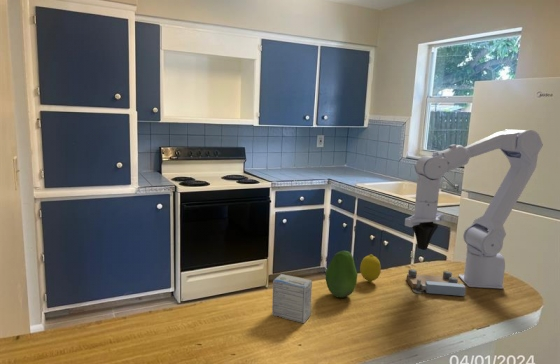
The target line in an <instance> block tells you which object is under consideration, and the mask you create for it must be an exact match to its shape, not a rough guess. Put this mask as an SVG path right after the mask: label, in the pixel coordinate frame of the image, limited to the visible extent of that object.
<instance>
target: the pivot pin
mask: <svg viewBox="0 0 560 364" xmlns="http://www.w3.org/2000/svg"><path fill="white" fill-rule="evenodd" d="M420 286H421V280H419V279H418V280H417V285H416V288H414V289H412V293H414V294H418V295H422V294H424V290H421V289H420Z"/></svg>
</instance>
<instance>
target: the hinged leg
mask: <svg viewBox="0 0 560 364" xmlns="http://www.w3.org/2000/svg"><path fill="white" fill-rule="evenodd" d="M421 288H422V290H423V291H424V290H425V292H426V294H433V295H446V296H447V295H448V296H460V297H466V285H464V284H463V283H458V282H457V283H445V282H432V281H426V283H425V284H421Z"/></svg>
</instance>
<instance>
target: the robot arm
mask: <svg viewBox="0 0 560 364" xmlns="http://www.w3.org/2000/svg"><path fill="white" fill-rule="evenodd" d="M543 146H544V143H543V141H542V139H541V136H540V134H539V133H538V132H537V131H536V130H533V129H526V130H525V129H512V128H507V129H504V130H502V131H496V132H495V133H492V134H491V135H489V136H488V135H487V136H486V137H483V138H481V139H478V140H477V141H475V142H472V143H470V144H468V145H465V146H463V145H462V144H454V143H452V144H450V145H448V147H449V148H446V149H444V150H441V151H434V152H432V154H431V155H422V156H421V157H419V159H418V160H417V161H416V163H415V164H414V172H416V174H417V181H416V182H417V183H416V192H415V202H414V203H415V204H414V214H413V215H411V216H409V217H405V219H404V226H405V227H408V228H412V230H413V232H414V235H415V240H416V245H417V249H420V250H422V251H426V250H427V249H428V247H429V244H430V242H431V240H432V237H433V235H434V233H435V232H436V230H437V229H438V228H439V227H438V226H439V224H437V223H439V222H442V221H444V219H445V214H444V213H441V212H438V205H439V194H440V185H441V178H442V177H443V176H444V175H445V174H446V173H448V172H450V171H453V170H456V169H457V168H460V167H464V166H466V165H468V163H469V162H470V159H471V158H474V157H477V156H481V155H484V154H486V153H489V152H493V151H495V150H500V152H502V153H503V155H504V156H505V157H506V158H507V160H508V162H509V165H510V167H509V169H508V171H507V173H506V174H505V176H504V178H503V180H502V182H501V183H500V185H499V187H498V189H497V190H496V192H495V194H494V196H493V197H492V199H491V200H490V203H489V205H488V206H487V208H486V210H485V211H484V213H483V215H482V216H480V217H478V218H475V219H474V220H473V222H472V224H470V226H468V227H466V229H465V230H464V231H463V234H462V235H463V241H464V243H466V244H465V245H466V257H465V264H464V272H463V273H464V274H458V277H459V278H460V279H461V280H462V281H463V282H464V283H465V284H466V286H468V288H469V287H470V288H481V289H482V288H484V289H500V290H501V289H504V288H505V287H504V285H503V284H504V279H505V278H504V276H505V269H506V261H505V257H504V255H502V253H500V252H501V251H502V249H503V245H504V240H505V238H506V236H507V232H506V230H505V227H504V224H505V223H506V221H507V219H508V217H509V216H510V214H511V212H512V210H513V209H514V207H515V205H516V203H517V202H518V200H519V198H520V196H521V194H522V193H523V191H524V190H525V188H526V185H528V183H529V181H530V180H531V177H532V176H533V173H534V172H535V170H536V168H537V165H538V163H537V162H538V156H539V154H540V152H541V150H542V148H543Z"/></svg>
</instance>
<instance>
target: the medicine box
mask: <svg viewBox="0 0 560 364" xmlns="http://www.w3.org/2000/svg"><path fill="white" fill-rule="evenodd" d="M312 285H313V280H311V279H308V278H304V277H303V278H302V277H299V276H295V275H293V276H292V275H288V274H284V273H283V274H282V273H280V274H279V275H278V276H277V277H276V278H274V279H273V281H272V305H271V306H272V308H271V315H272V316H273V315H275V316H274V317H277V316H279V317H278V318H281V317H282V318H281V319H286V320H289V321H294V322H298V323H302V324H305V323H306V321H307V320H308V319H309V318H310V316H311V315H312V313H311V311H312V289H313V288H312V287H313V286H312Z"/></svg>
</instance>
